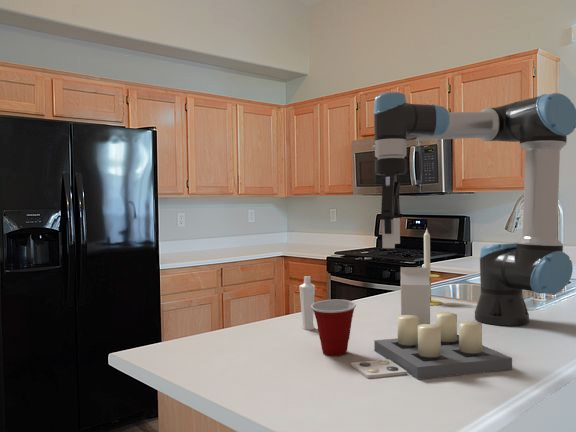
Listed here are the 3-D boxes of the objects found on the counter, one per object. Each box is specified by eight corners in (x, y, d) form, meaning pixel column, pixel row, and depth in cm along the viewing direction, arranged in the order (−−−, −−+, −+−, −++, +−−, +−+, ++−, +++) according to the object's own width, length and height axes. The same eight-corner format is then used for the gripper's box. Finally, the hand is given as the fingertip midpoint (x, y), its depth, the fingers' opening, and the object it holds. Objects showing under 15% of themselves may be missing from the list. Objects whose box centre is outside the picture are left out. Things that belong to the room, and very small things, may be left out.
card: (389, 361, 118) (389, 358, 118) (407, 374, 109) (407, 370, 109) (351, 365, 116) (351, 361, 116) (366, 378, 107) (366, 374, 107)
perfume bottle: (308, 331, 148) (307, 278, 148) (297, 328, 152) (296, 276, 151) (319, 328, 151) (318, 276, 151) (309, 325, 155) (308, 275, 154)
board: (455, 343, 132) (455, 333, 132) (512, 369, 111) (512, 357, 111) (374, 350, 127) (374, 340, 127) (417, 379, 106) (417, 367, 106)
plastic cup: (303, 355, 124) (302, 305, 124) (325, 344, 133) (324, 297, 133) (343, 362, 118) (343, 309, 118) (364, 350, 127) (363, 301, 127)
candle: (447, 302, 187) (446, 227, 186) (433, 306, 180) (432, 228, 179) (422, 299, 194) (421, 226, 193) (407, 303, 186) (407, 228, 186)
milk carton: (430, 344, 132) (429, 269, 132) (401, 343, 134) (400, 269, 133) (428, 337, 139) (427, 266, 139) (401, 336, 141) (400, 265, 140)
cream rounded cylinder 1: (450, 336, 128) (450, 311, 128) (461, 341, 123) (460, 315, 123) (432, 337, 127) (432, 313, 127) (442, 342, 122) (442, 317, 122)
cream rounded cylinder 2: (473, 346, 118) (473, 320, 118) (486, 352, 114) (486, 324, 114) (454, 348, 117) (454, 321, 117) (467, 354, 112) (466, 326, 112)
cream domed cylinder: (433, 350, 116) (433, 323, 116) (445, 356, 111) (445, 328, 111) (414, 352, 115) (413, 324, 115) (424, 358, 110) (424, 329, 110)
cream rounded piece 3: (412, 339, 126) (412, 314, 126) (422, 344, 121) (422, 318, 121) (394, 340, 125) (394, 315, 124) (403, 346, 120) (403, 319, 120)
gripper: (381, 162, 140) (382, 241, 140) (367, 154, 116) (368, 250, 116) (410, 161, 137) (411, 242, 138) (401, 152, 114) (403, 250, 114)
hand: (391, 245), depth 127 cm, fingers open, 13 cm apart
